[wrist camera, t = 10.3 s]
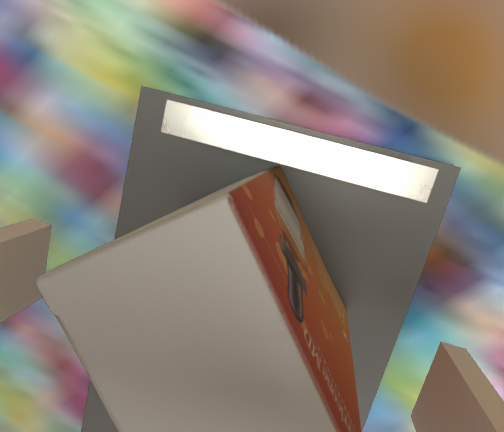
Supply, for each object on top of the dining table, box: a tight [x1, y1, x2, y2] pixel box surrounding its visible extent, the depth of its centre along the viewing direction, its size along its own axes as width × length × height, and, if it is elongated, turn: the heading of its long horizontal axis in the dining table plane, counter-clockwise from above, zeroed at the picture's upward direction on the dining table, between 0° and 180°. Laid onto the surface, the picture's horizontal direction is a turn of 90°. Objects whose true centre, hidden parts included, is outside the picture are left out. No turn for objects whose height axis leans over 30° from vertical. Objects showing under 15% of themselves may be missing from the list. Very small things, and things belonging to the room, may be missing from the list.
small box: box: [36, 165, 361, 432], centre depth 14 cm, size 8×6×10 cm
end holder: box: [161, 100, 438, 203], centre depth 17 cm, size 10×12×4 cm
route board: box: [81, 86, 461, 432], centre depth 20 cm, size 15×26×4 cm, turn 166°
